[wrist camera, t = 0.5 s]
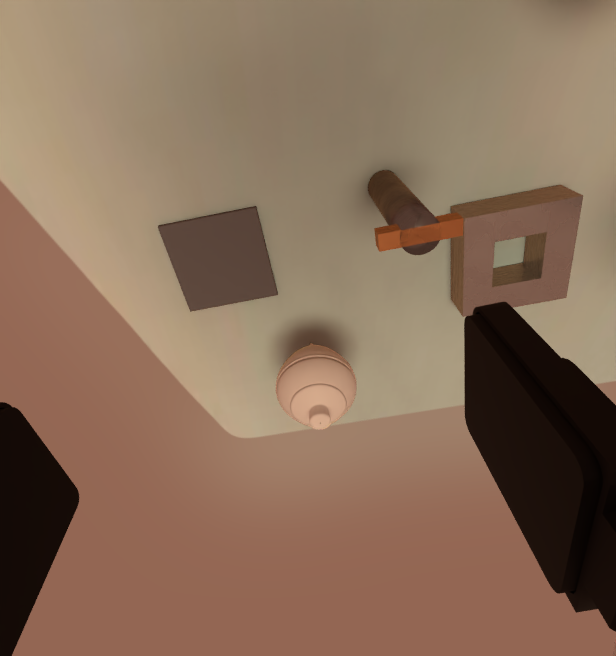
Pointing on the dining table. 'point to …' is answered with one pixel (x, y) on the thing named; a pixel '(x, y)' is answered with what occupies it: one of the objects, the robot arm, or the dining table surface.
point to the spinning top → (316, 386)
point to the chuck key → (408, 217)
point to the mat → (220, 258)
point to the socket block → (539, 257)
